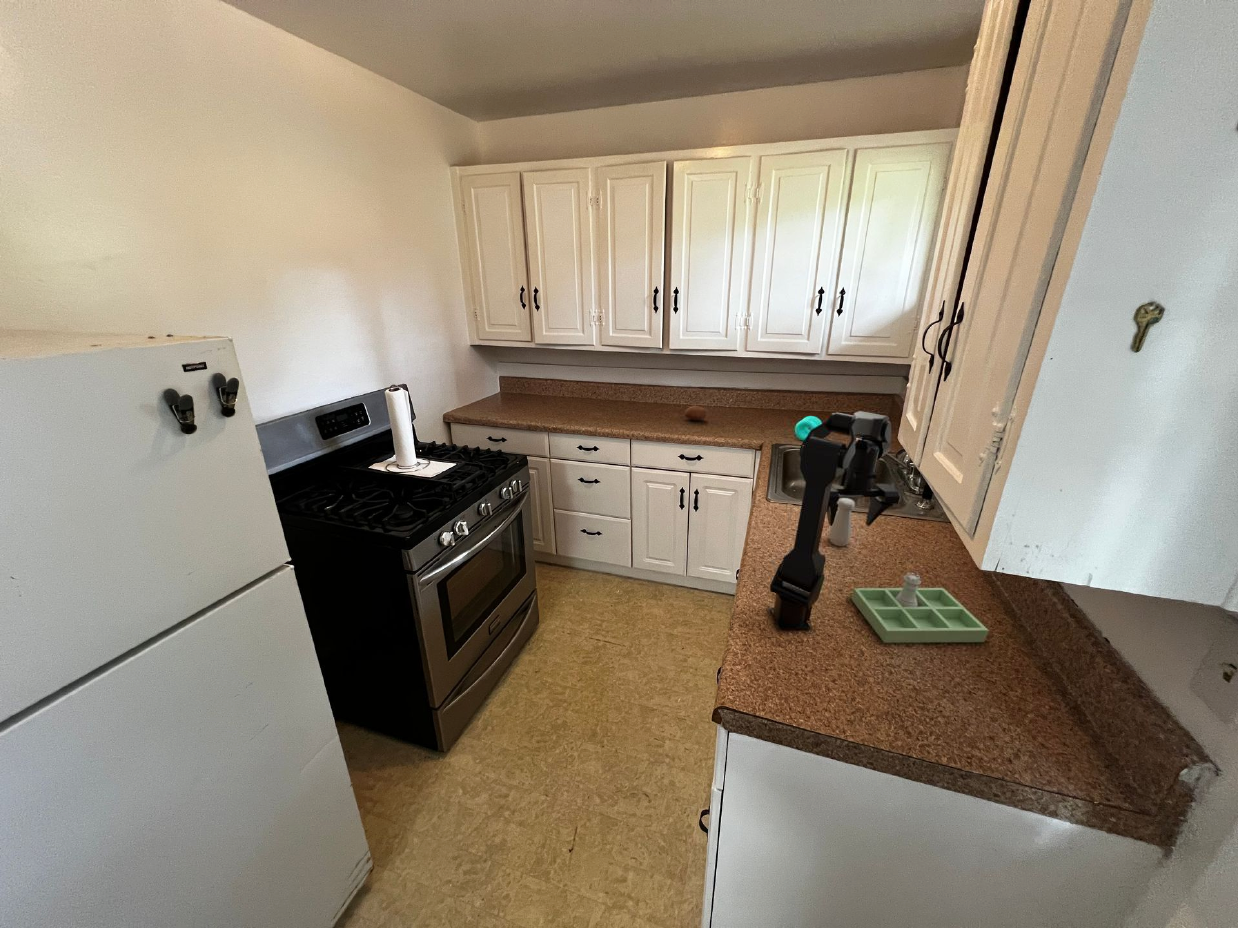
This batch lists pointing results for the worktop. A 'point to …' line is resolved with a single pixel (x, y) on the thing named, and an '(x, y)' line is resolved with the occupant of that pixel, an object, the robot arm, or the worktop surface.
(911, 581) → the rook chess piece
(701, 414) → the potato
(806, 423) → the cyan rounded blob
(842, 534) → the salt shaker
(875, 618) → the grid
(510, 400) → the worktop surface
